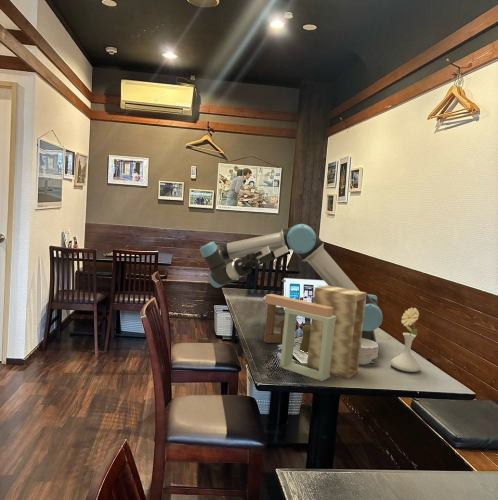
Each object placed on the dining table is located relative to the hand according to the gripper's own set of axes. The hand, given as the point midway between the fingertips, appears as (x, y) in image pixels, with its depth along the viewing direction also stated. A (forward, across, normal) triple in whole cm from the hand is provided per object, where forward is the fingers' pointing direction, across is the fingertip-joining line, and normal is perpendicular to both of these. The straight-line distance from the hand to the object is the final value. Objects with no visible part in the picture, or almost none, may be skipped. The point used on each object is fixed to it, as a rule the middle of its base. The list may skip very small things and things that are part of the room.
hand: (278, 248), depth 179 cm
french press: (-32, -28, -30) cm, 52 cm away
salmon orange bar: (+5, +10, -25) cm, 28 cm away
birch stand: (+3, 0, -50) cm, 50 cm away
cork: (-12, -12, -42) cm, 45 cm away
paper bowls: (+6, -18, -52) cm, 55 cm away
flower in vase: (+21, -24, -60) cm, 68 cm away
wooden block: (-24, -12, -34) cm, 44 cm away
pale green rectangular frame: (-2, +10, -47) cm, 48 cm away
